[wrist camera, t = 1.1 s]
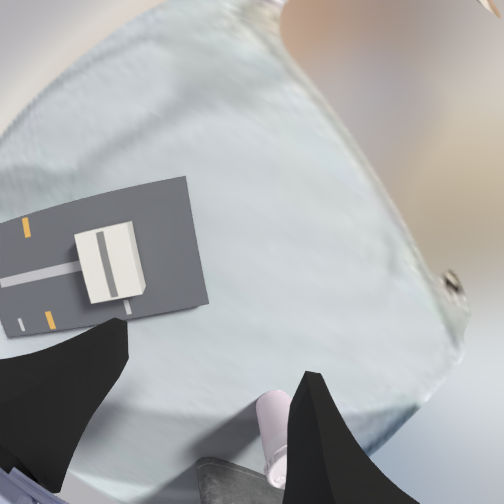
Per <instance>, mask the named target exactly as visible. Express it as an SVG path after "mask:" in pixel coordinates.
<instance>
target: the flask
mask: <svg viewBox="0 0 504 504" xmlns="http://www.w3.org/2000/svg"><path fill="white" fill-rule="evenodd" d="M196 468H197V476H198V483H199V490H200V497H201V503H202V504H282V502H283V496H284V489H278V488H275V487H273V486H272V485H271V484H270V483H269V482H268V479H267V477H266V476H265V475H263V474H260V473H258V472H255V471H253V470H250V469H248V468H245V467H242V466H239V465H236V464H233V463H230V462H226V461H223V460H219V459H216V458H211V457H207V458H202V459H200V460H198V461H197V463H196Z"/></svg>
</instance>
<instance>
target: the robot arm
mask: <svg viewBox="0 0 504 504" xmlns="http://www.w3.org/2000/svg"><path fill="white" fill-rule="evenodd" d="M128 359H129V355H128V329H127V322H126V321H124V320H121V319H118V318H115V317H114V318H112V319H110V320H108V321H106V322H104V323H102V324H100V325H98V326H96V327H94V328H92V329H90V330H88V331H86V332H84V333H82V334H80V335H78V336H75V337H73V338H71V339H69V340H66V341H64V342H62V343H59V344H57V345H55V346H52V347H49V348H47V349H44V350H41V351H37V352H34V353H31V354H27V355H22V356H17V357H13V358H7V359H0V504H37V502H38V503H39V504H68V503H67V502H65V501H64V500H62V499H60V498H58V497H57V496H55V495H54V494H52V493H59V492H60V491H61V487H62V483H63V481H64V478H65V475H66V472H67V469H68V466H69V464H70V461H71V458H72V456H73V453H74V451H75V449H76V447H77V444H78V442H79V440H80V438H81V436H82V434H83V432H84V430H85V428H86V426H87V424H88V422H89V420H90V419H91V417H92V415H93V414H94V412H95V411H96V409H97V408H98V407H99V405H100V404H101V402H102V401H103V400H104V398H105V397H106V395H107V394H108V392H109V391H110V390H111V388H112V387H113V385H114V384H115V382H116V381H117V380H118V378H119V376H120V375H121V373H122V371H123V369H124V367H125V365H126V363H127V361H128ZM32 480H33V481H32ZM35 482H36V483H35ZM47 490H48V491H47ZM50 492H51V493H50ZM282 504H420V503H419V502H417V501H416V500H414V499H413V498H411V497H410V496H409V495H407V494H406V493H405V492H403V491H402V490H401V489H399V488H398V487H397V486H396V485H395V484H394V483H393V482H391V481H390V480H389V479H388V478H387V477H386V476H385V475H384V474H383V473H382V472H381V471H380V470H379V468H378V467H377V466H376V465H375V464H374V463H373V462H372V461H371V460H370V458H369V457H368V456H367V455H366V454H365V452H364V451H363V450H362V448H361V447H360V446H359V444H358V443H357V441H356V440H355V438H354V437H353V435H352V434H351V432H350V430H349V429H348V427H347V425H346V424H345V422H344V420H343V418H342V416H341V415H340V413H339V411H338V409H337V407H336V405H335V403H334V401H333V399H332V397H331V395H330V392H329V390H328V388H327V386H326V384H325V381H324V379H323V377H322V375H321V373H315V372H310V371H305V373H304V375H303V378H302V380H301V382H300V384H299V386H298V388H297V391H296V393H295V395H294V397H293V399H292V401H291V403H290V409H289V416H288V423H287V472H286V483H285V490H284V496H283V502H282Z"/></svg>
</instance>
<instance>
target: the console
mask: <svg viewBox="0 0 504 504" xmlns="http://www.w3.org/2000/svg"><path fill="white" fill-rule="evenodd" d="M129 221H132V224H133V229H134V234H135V239H136V244H137V249H138V253H139V258H140V263H141V267H142V271H143V276H144V280H145V284H146V287H145V289H144V292H143V294H141V295H136V296H130V297H125V298H119V299H114V300H109V301H103V302H98V303H92V304H91V301H90V297H89V294H88V290H87V287H86V283H85V279H84V275H83V271H82V267H81V263H80V259H79V255H78V250H77V246H76V241H75V236H74V235H75V234H78V233H81V232H85V231H89V230H93V229H98V228H102V227H106V226H111V225H115V224H120V223H124V222H129ZM205 304H209V301H208V296H207V291H206V286H205V281H204V276H203V271H202V266H201V261H200V256H199V251H198V245H197V240H196V235H195V229H194V223H193V218H192V212H191V206H190V200H189V194H188V188H187V182H186V176H183V177H177V178H172V179H167V180H162V181H157V182H152V183H147V184H142V185H137V186H133V187H128V188H124V189H120V190H115V191H111V192H107V193H103V194H99V195H95V196H91V197H87V198H83V199H79V200H75V201H72V202H68V203H65V204H61V205H57V206H54V207H51V208H47V209H44V210H40V211H37V212H34V213H31V214H28V215H24V216H21V217H18V218H15V219H12V220H9V221H6V222H3V223H0V319H1V322H2V324H3V327H4V330H5V333H6V335H7V337H12V336H20V335H28V334H36V333H43V332H50V331H57V330H64V329H71V328H78V327H84V326H90V325H97V324H102V323H104V322H106V321H108V320H110V319H112V318H114V317H115V318H118V319H121V320H126V319H132V318H138V317H143V316H149V315H154V314H160V313H165V312H170V311H175V310H180V309H186V308H191V307H196V306H201V305H205Z"/></svg>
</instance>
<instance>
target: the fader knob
mask: <svg viewBox="0 0 504 504" xmlns="http://www.w3.org/2000/svg"><path fill="white" fill-rule="evenodd" d="M74 236H75V241H76V246H77V250H78V255H79V259H80V263H81V267H82V271H83V275H84V279H85V283H86V287H87V290H88V294H89V297H90V301H91V304H92V303H98V302H103V301H109V300H114V299H119V298H125V297H130V296H136V295H141V294H143V292H144V289H145V287H146V284H145V280H144V276H143V271H142V267H141V263H140V258H139V253H138V249H137V244H136V239H135V234H134V229H133V224H132V221H129V222H124V223H120V224H115V225H111V226H106V227H102V228H98V229H93V230H89V231H85V232H81V233H78V234H75V235H74Z"/></svg>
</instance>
